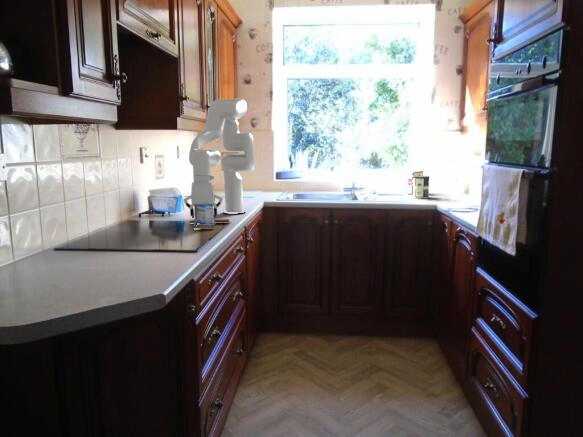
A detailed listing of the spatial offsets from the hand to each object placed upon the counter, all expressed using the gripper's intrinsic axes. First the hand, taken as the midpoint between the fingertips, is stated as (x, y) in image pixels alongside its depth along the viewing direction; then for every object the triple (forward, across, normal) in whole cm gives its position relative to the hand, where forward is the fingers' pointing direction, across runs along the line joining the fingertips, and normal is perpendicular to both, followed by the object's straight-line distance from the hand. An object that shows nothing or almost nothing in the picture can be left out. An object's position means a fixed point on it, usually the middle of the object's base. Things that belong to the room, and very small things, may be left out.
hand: (204, 217), depth 201 cm
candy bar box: (+5, -142, -100) cm, 174 cm away
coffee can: (+5, -137, -79) cm, 158 cm away
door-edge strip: (+5, -2, -8) cm, 9 cm away
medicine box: (+3, 0, 0) cm, 3 cm away
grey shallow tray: (+5, 0, 0) cm, 5 cm away
